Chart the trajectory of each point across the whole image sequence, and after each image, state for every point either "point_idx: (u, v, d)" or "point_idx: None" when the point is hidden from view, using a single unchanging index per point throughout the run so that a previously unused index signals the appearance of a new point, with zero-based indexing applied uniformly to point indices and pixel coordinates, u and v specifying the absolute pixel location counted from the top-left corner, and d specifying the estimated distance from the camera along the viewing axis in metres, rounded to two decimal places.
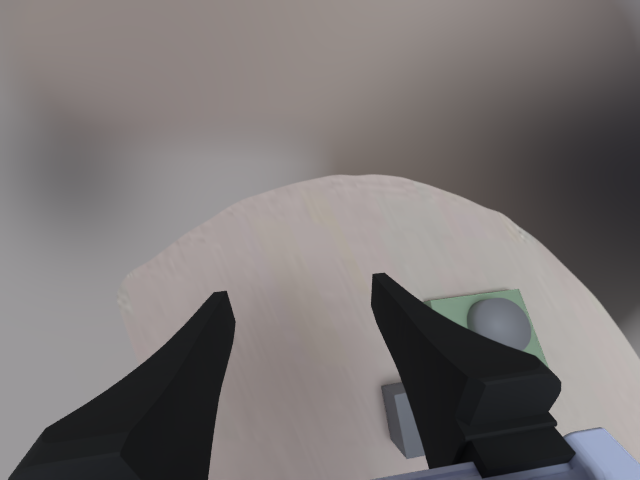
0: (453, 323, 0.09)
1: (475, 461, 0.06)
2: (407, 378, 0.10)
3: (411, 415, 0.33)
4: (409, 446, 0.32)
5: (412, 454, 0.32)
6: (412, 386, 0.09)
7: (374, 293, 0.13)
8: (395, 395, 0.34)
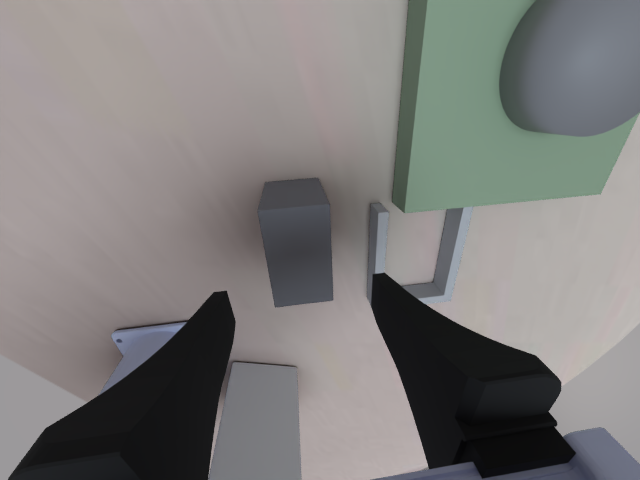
0: (453, 323, 0.09)
1: (475, 462, 0.06)
2: (407, 378, 0.10)
3: (294, 248, 0.15)
4: (282, 292, 0.17)
5: (286, 302, 0.17)
6: (412, 386, 0.09)
7: (374, 293, 0.13)
8: (261, 211, 0.14)
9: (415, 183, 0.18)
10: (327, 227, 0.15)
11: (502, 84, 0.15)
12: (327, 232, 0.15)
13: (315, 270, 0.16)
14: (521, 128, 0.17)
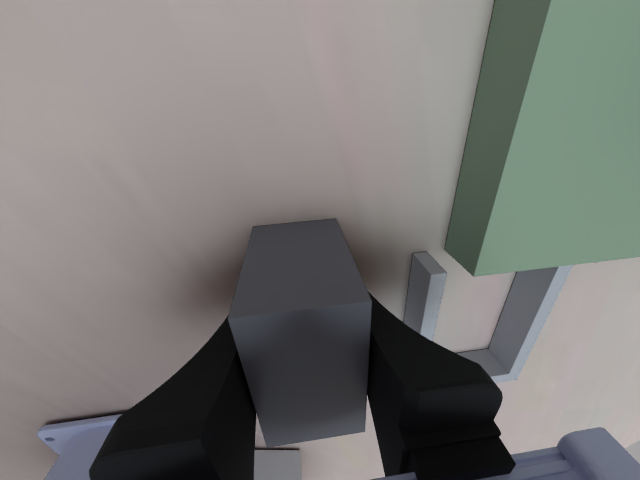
0: (409, 329, 0.08)
1: (416, 472, 0.06)
2: (368, 384, 0.10)
3: (300, 370, 0.08)
4: (279, 429, 0.10)
5: (286, 440, 0.10)
6: (371, 392, 0.09)
7: None
8: (235, 319, 0.07)
9: (497, 234, 0.11)
10: (364, 337, 0.08)
11: None
12: (363, 344, 0.08)
13: (338, 396, 0.09)
14: None
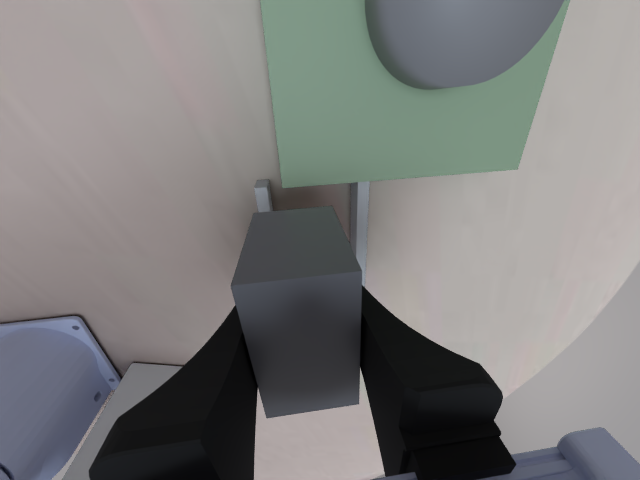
0: (409, 329, 0.08)
1: (416, 473, 0.06)
2: (368, 384, 0.10)
3: (297, 339, 0.09)
4: (278, 399, 0.10)
5: (285, 410, 0.11)
6: (372, 392, 0.09)
7: None
8: (237, 286, 0.08)
9: (287, 151, 0.15)
10: (356, 306, 0.09)
11: (368, 25, 0.13)
12: (355, 314, 0.09)
13: (332, 367, 0.10)
14: (405, 84, 0.14)
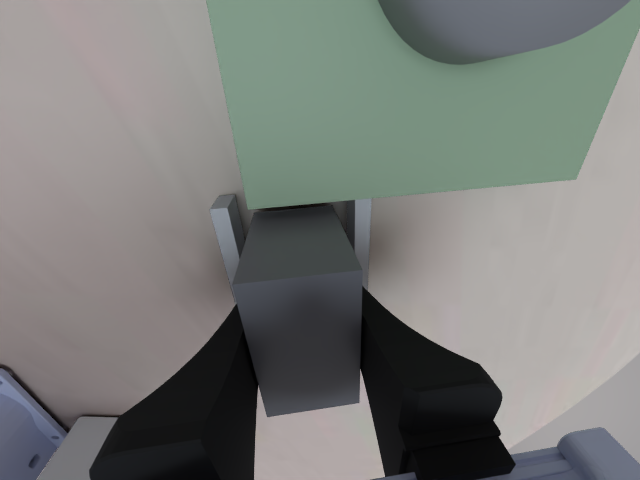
0: (409, 329, 0.08)
1: (416, 472, 0.06)
2: (368, 384, 0.10)
3: (298, 338, 0.09)
4: (278, 398, 0.10)
5: (285, 409, 0.11)
6: (371, 392, 0.09)
7: None
8: (238, 285, 0.08)
9: (251, 159, 0.10)
10: (356, 305, 0.09)
11: None
12: (355, 313, 0.09)
13: (332, 366, 0.10)
14: (425, 55, 0.09)
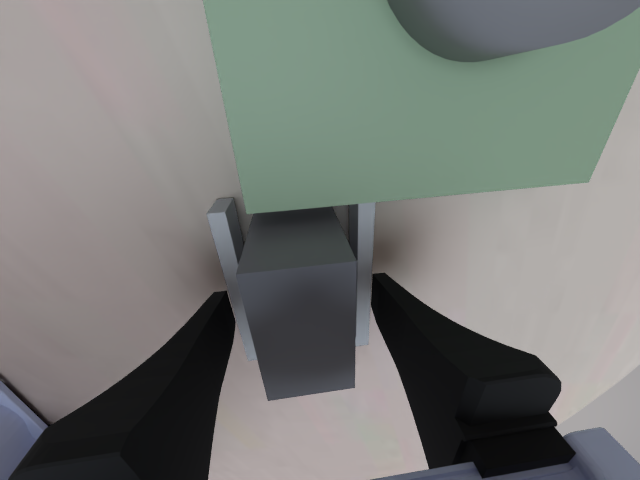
0: (453, 323, 0.09)
1: (475, 462, 0.06)
2: (407, 378, 0.10)
3: (297, 325, 0.10)
4: (279, 382, 0.11)
5: (285, 393, 0.12)
6: (412, 386, 0.09)
7: (374, 293, 0.13)
8: (241, 275, 0.08)
9: (250, 161, 0.10)
10: (351, 294, 0.09)
11: None
12: (350, 301, 0.09)
13: (329, 352, 0.11)
14: (433, 52, 0.09)
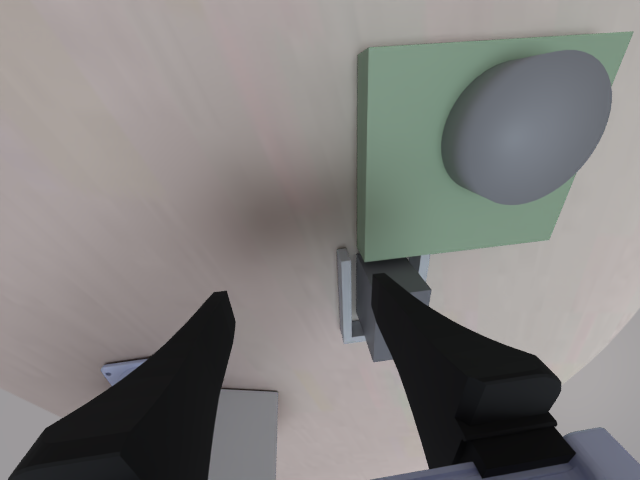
0: (453, 323, 0.09)
1: (475, 462, 0.06)
2: (407, 378, 0.10)
3: None
4: (381, 351, 0.21)
5: (383, 358, 0.21)
6: (412, 386, 0.09)
7: (374, 293, 0.13)
8: None
9: (372, 237, 0.20)
10: None
11: (443, 155, 0.17)
12: None
13: None
14: (466, 189, 0.19)
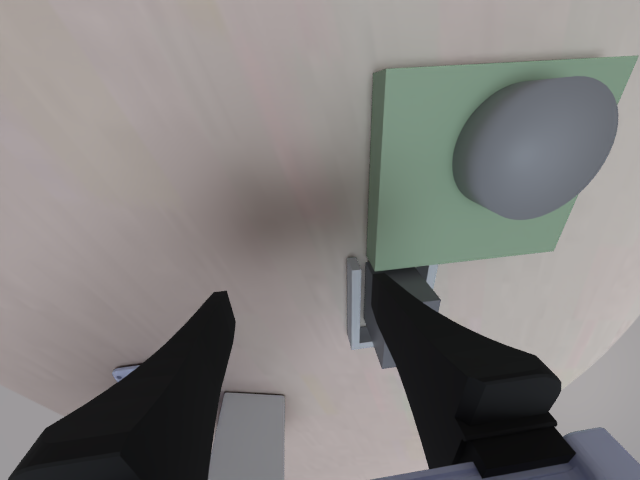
0: (453, 323, 0.09)
1: (475, 462, 0.06)
2: (407, 378, 0.10)
3: None
4: (390, 358, 0.21)
5: (391, 365, 0.22)
6: (412, 386, 0.09)
7: (374, 293, 0.13)
8: None
9: (382, 248, 0.20)
10: None
11: (454, 170, 0.18)
12: None
13: None
14: (475, 202, 0.19)
